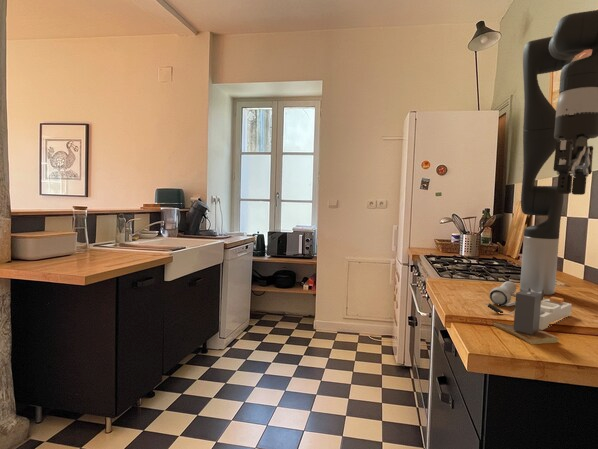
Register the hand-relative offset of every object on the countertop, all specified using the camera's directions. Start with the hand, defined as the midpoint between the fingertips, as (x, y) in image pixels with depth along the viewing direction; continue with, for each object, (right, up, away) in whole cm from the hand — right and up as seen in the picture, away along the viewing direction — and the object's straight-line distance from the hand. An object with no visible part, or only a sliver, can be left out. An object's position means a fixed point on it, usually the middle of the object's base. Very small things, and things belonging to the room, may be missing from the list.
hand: (571, 194), depth 75 cm
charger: (-8, -29, +2) cm, 30 cm away
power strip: (+4, -29, +13) cm, 32 cm away
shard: (-9, -31, +1) cm, 32 cm away
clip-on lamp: (0, -29, +21) cm, 36 cm away
